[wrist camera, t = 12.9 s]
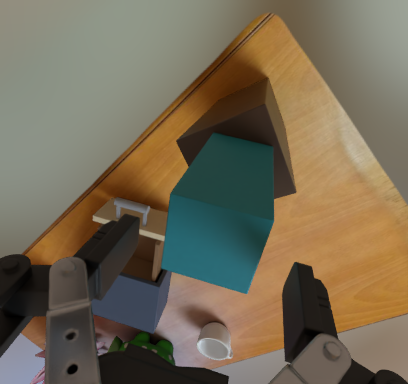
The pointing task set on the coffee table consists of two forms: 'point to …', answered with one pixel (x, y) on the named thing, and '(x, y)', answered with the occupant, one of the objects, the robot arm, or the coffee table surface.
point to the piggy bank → (145, 346)
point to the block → (221, 213)
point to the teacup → (215, 342)
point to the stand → (246, 130)
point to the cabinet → (135, 301)
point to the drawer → (148, 235)
